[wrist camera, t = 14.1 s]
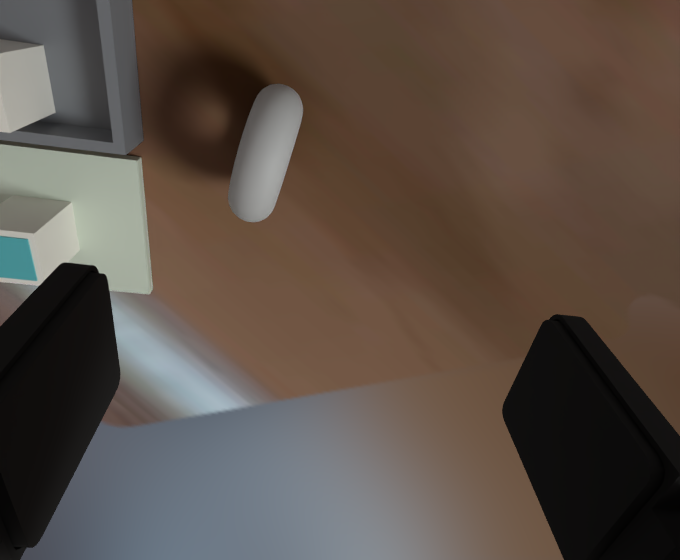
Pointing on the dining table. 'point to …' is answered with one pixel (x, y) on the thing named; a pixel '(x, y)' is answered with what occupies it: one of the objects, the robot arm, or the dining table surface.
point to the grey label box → (23, 85)
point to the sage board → (89, 204)
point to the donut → (264, 152)
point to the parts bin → (81, 72)
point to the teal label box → (35, 238)
